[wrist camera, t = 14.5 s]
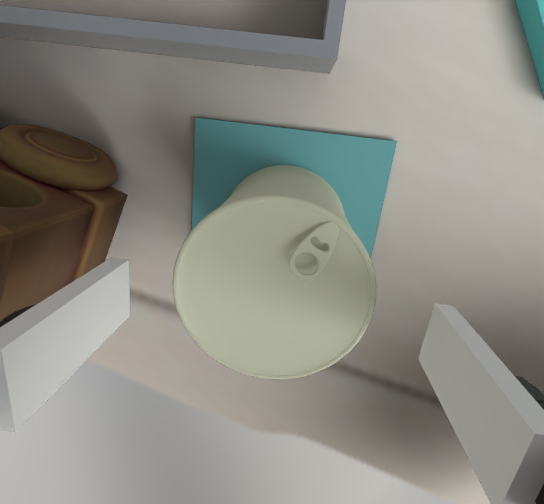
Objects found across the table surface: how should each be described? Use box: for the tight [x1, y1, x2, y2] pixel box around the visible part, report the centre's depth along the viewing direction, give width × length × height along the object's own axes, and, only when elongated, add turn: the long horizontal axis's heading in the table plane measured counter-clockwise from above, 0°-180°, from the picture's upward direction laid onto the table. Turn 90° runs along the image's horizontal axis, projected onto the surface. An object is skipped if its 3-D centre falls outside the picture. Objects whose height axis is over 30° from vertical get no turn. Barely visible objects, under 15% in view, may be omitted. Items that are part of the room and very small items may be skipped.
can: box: [173, 165, 376, 379], centre depth 21 cm, size 9×9×12 cm
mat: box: [192, 118, 397, 259], centre depth 26 cm, size 14×14×1 cm
